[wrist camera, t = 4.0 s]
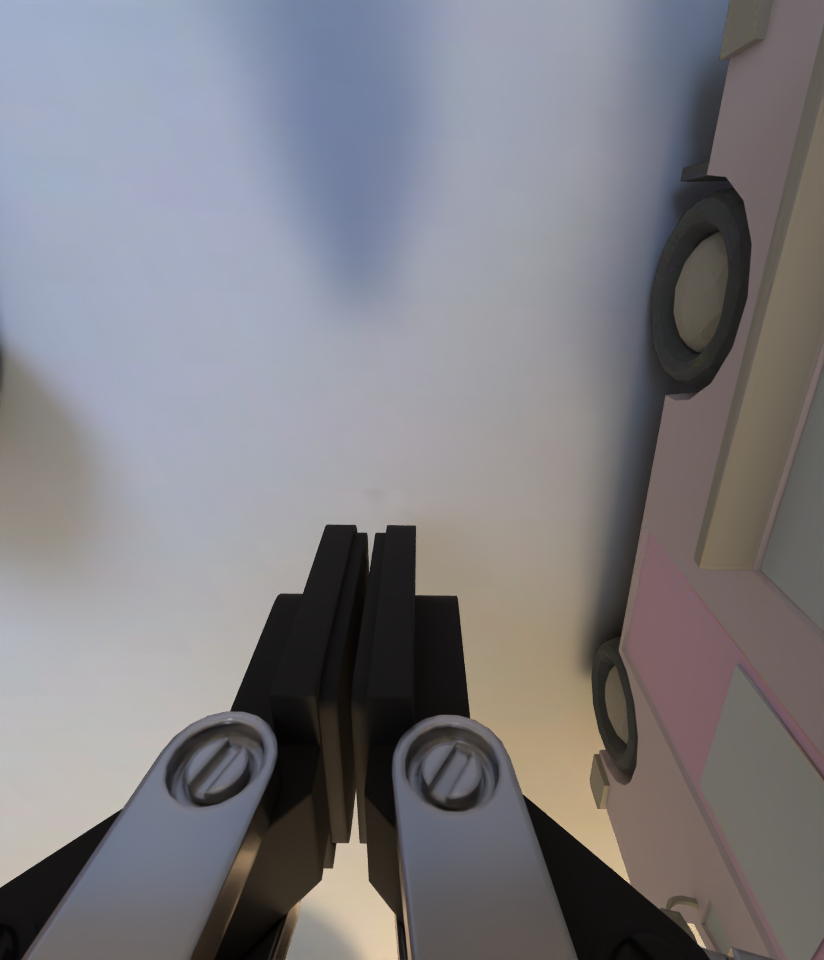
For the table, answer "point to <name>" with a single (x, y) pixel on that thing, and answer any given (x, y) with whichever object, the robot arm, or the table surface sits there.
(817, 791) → the toy vehicle
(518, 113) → the table surface
